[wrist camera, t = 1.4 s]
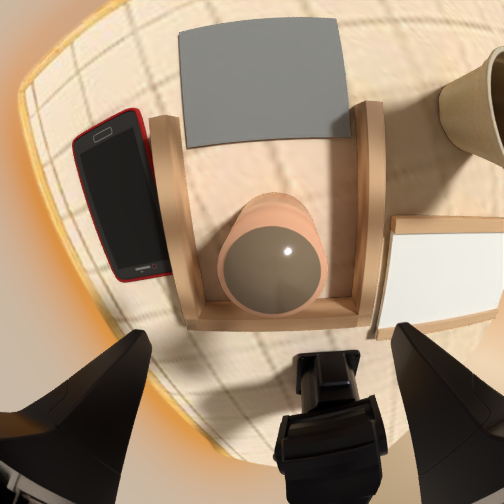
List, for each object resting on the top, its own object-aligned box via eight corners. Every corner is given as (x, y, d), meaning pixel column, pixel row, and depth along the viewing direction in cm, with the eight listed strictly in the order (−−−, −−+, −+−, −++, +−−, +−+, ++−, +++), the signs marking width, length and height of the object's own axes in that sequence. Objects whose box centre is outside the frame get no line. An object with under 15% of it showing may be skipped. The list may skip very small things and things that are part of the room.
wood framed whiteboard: (516, 218, 17) (522, 221, 16) (491, 313, 22) (495, 318, 21) (391, 215, 19) (396, 219, 18) (374, 334, 24) (376, 340, 23)
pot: (313, 264, 22) (325, 317, 15) (240, 267, 22) (224, 320, 16) (312, 190, 19) (329, 217, 13) (232, 195, 20) (209, 222, 14)
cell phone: (141, 104, 18) (135, 103, 17) (189, 267, 23) (186, 272, 22) (76, 139, 19) (69, 140, 19) (122, 279, 25) (117, 284, 24)
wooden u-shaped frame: (362, 307, 23) (370, 325, 20) (195, 311, 25) (187, 329, 22) (369, 106, 16) (382, 102, 14) (164, 120, 18) (148, 118, 16)
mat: (350, 137, 17) (351, 137, 17) (188, 147, 19) (187, 147, 19) (335, 19, 14) (336, 18, 13) (179, 33, 15) (179, 32, 15)
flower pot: (406, 134, 17) (475, 138, 9) (431, 45, 13) (491, 17, 5) (480, 187, 17) (544, 214, 9) (502, 104, 13) (563, 107, 5)
